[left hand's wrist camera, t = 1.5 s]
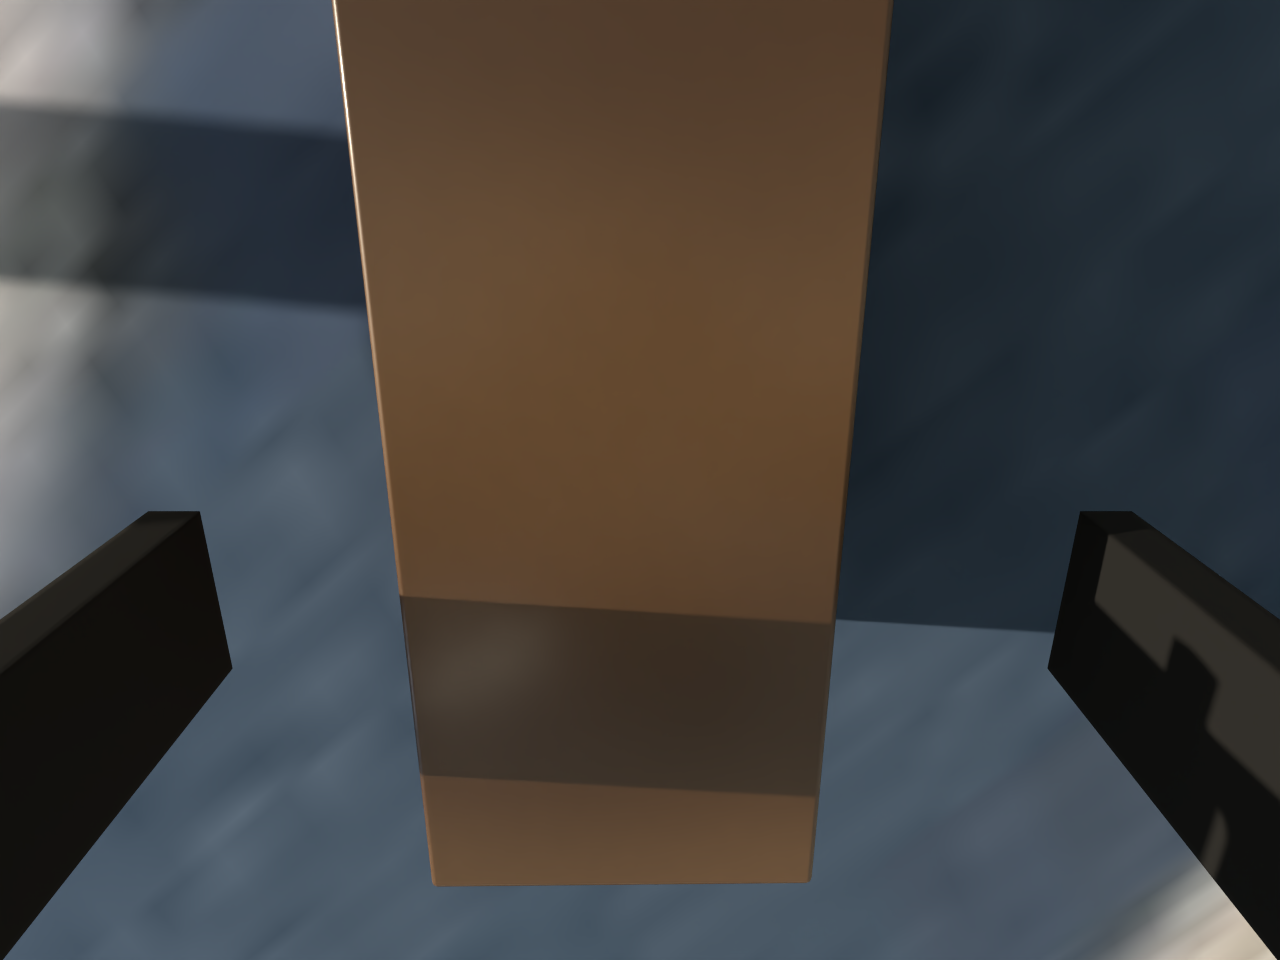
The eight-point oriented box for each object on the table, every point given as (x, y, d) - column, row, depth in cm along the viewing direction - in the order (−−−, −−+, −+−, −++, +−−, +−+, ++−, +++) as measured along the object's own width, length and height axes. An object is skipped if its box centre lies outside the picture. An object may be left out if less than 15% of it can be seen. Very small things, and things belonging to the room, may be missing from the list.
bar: (739, 599, 20) (812, 885, 12) (509, 601, 20) (430, 889, 12) (807, -817, 12) (1156, -2740, 4) (421, -822, 12) (7, -2784, 4)
